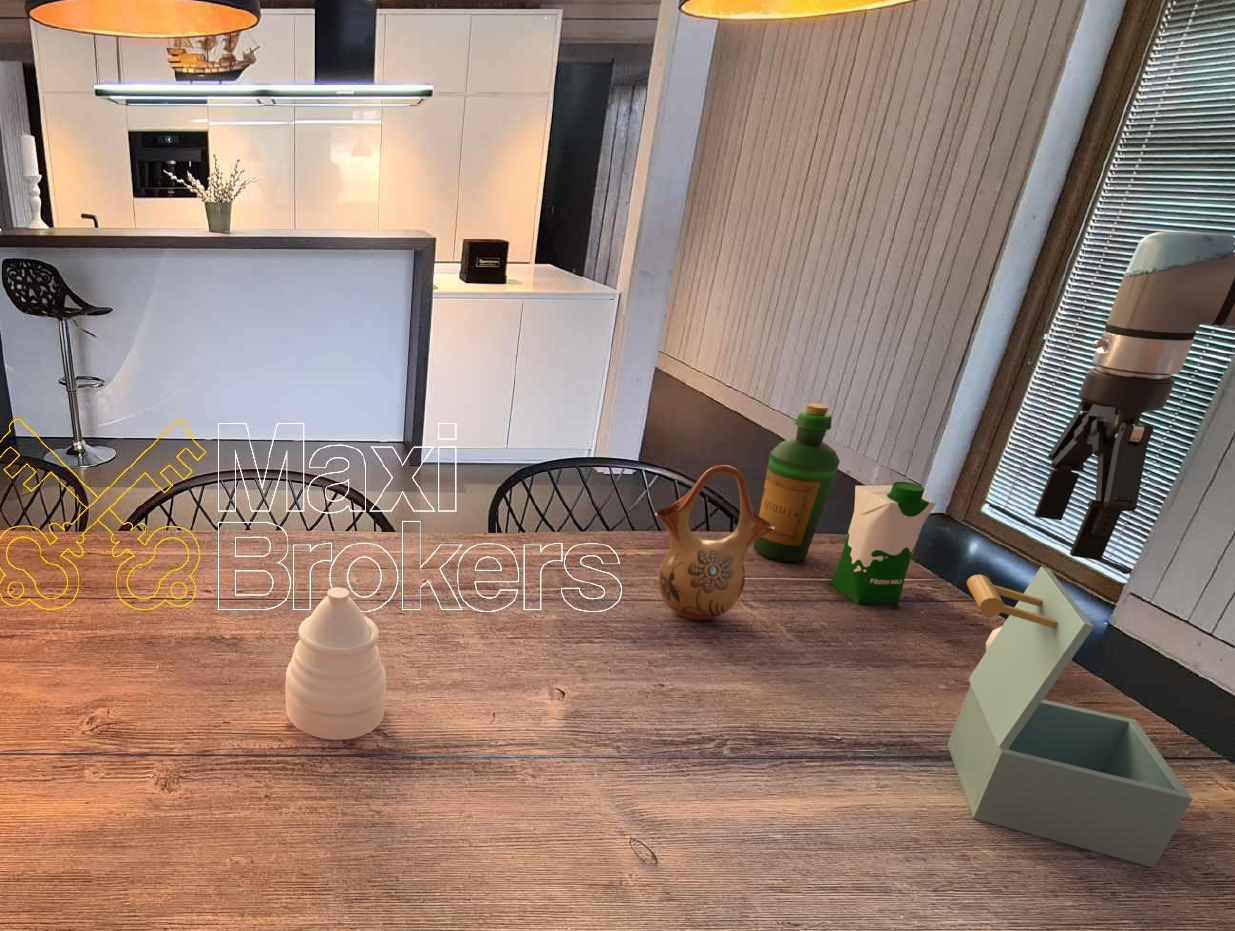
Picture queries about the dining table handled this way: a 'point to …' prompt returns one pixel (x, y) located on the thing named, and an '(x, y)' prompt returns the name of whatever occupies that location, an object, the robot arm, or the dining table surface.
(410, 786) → the dining table surface
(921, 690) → the dining table surface
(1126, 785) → the compartment
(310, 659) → the honey pot
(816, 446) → the bottle
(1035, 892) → the dining table surface
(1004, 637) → the compartment door
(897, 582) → the milk carton
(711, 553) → the ceramic vessel
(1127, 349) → the robot arm
